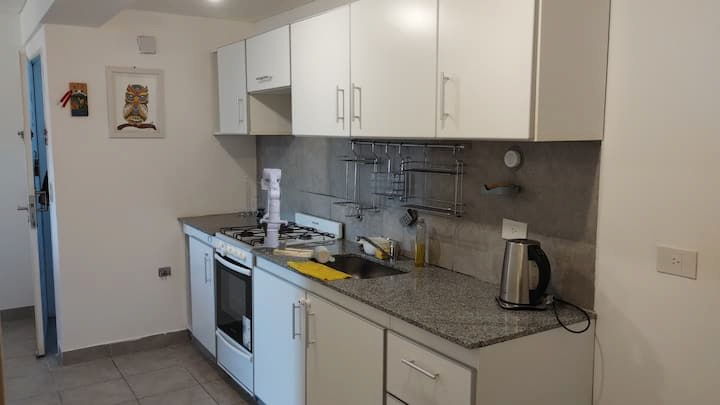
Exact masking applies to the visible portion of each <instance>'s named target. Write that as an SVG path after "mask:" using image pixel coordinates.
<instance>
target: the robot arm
mask: <svg viewBox="0 0 720 405" xmlns="http://www.w3.org/2000/svg"><path fill="white" fill-rule="evenodd" d="M262 172H263V173H262V179H263V180H262V182H263V185H265V186H266V188H267V213H265V214H264V215H263V217H262V218H261V219H260V220H259V224H261V228H262V230H263V231H264V232H263V233H264V236H263V238H264V239H263V240H264V241H263V244H262V246H261V247H262V248H270V249H271V248H272V249H276V248H277V247H279V239H281V238H282V235H283V232H284V230H285V228H286V226H287V225H288V223H289V221H288V220H285V219H283V220H282V219H281V216H280V215H281V214H280V211H281V209H280V208H281V201H282V190H281V188H280V183H281V179H282V170H281V169H280V168H263V171H262Z"/></svg>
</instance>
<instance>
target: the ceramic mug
mask: <svg viewBox="0 0 720 405" xmlns="http://www.w3.org/2000/svg"><path fill="white" fill-rule="evenodd" d="M313 257H314V259H315V260H316V261H317V262H318V263H321V264H326V263H328V262H332V263H334V262H335V261H336V259H335V257H333V256H332V255H331V253H330V251H329V250H328V248H327V247H326V246H324V245H318V246H316V247H315V248H314V249H313Z"/></svg>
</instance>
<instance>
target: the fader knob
mask: <svg viewBox="0 0 720 405" xmlns="http://www.w3.org/2000/svg"><path fill="white" fill-rule="evenodd" d="M278 244H279V245H278V247H279V250H285V249H286V248H287V241H286V240H285V241H284V240H279V241H278Z"/></svg>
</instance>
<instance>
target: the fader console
mask: <svg viewBox="0 0 720 405" xmlns="http://www.w3.org/2000/svg"><path fill="white" fill-rule="evenodd" d="M272 255H275V256H285V257H286V256H287V257H299V258H308V257H310V258H312V256H314V249H302V248H291V247H286V249H285V250H279V246H277V247H276V248H274V250H273V251H272Z"/></svg>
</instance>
